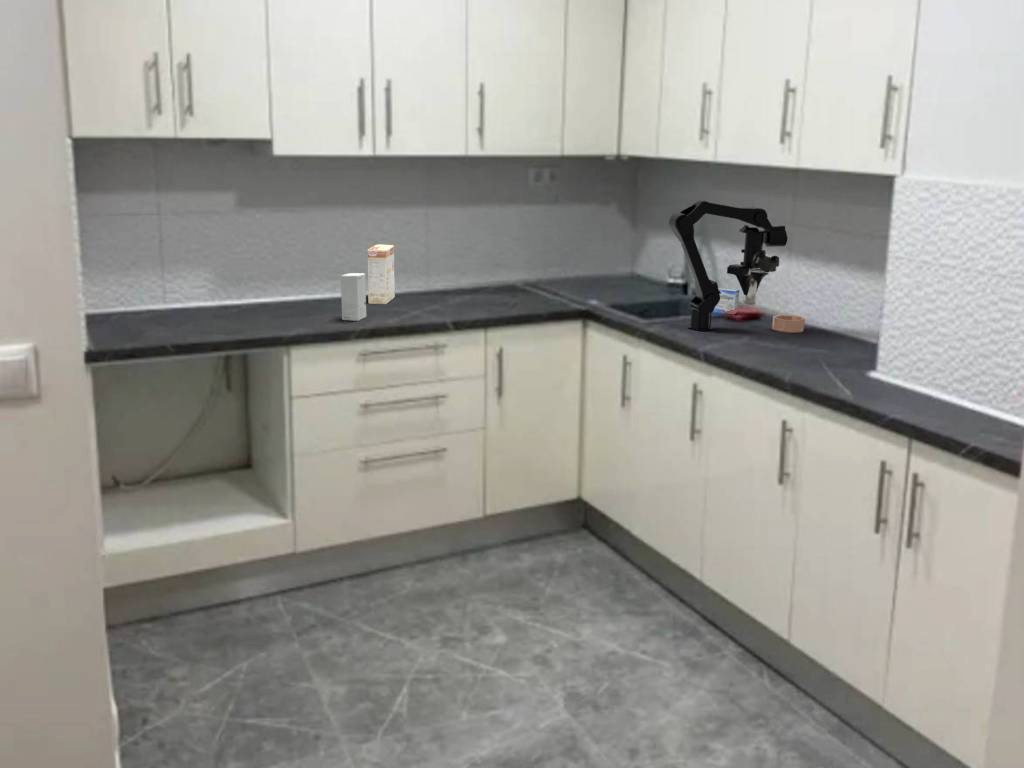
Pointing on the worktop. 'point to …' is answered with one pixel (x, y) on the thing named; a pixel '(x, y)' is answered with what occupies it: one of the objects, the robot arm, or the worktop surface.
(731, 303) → the medicine box
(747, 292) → the robot arm
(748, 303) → the battery cell
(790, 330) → the cup
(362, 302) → the skincare box
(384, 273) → the coffeecake box
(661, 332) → the worktop surface
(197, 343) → the worktop surface
